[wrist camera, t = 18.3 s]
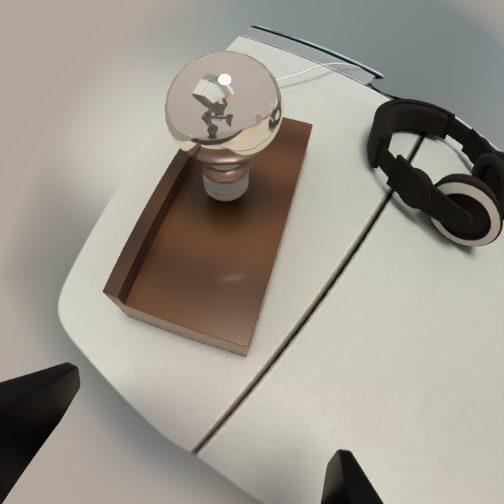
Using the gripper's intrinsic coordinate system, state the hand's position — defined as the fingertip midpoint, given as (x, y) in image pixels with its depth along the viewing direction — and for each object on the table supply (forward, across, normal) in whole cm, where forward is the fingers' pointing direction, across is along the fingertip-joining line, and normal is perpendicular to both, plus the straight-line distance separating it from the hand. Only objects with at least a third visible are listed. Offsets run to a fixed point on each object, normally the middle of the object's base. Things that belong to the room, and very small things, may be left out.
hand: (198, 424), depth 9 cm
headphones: (+30, -17, -11) cm, 36 cm away
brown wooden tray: (+21, +4, -2) cm, 21 cm away
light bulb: (+18, +4, -4) cm, 19 cm away
